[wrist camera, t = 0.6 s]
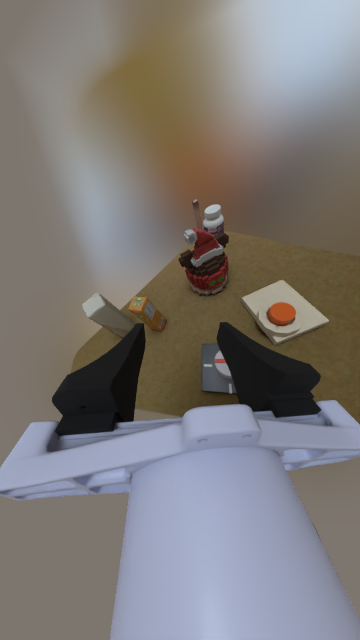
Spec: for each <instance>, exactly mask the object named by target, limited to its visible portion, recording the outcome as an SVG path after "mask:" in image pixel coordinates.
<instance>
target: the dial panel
mask: <svg viewBox="0 0 360 640" xmlns="http://www.w3.org/2000/svg"><path fill="white" fill-rule="evenodd" d="M219 351H220V349H219V346H218V344H202V391H204V392H216V393H228V394H237V392H236V389H235V385H234V382H233V379H227V378H224V377H223V376H221V375H220V374H219V372H218V371H217V368H216V365H215V356H216V354H217V353H218V352H219Z"/></svg>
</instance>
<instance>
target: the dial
mask: <svg viewBox="0 0 360 640" xmlns="http://www.w3.org/2000/svg"><path fill="white" fill-rule="evenodd" d="M215 365H216V368H217V371H218V372H219V374H220V375H221V376H223V377H224V378H227V379H232V376H231V373H230V371H229V368H228V366H227V364H226V362H225V360H224V357H223V355H222V353H221V351H219V352H218V353H217V354H216V356H215Z"/></svg>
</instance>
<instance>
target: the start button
mask: <svg viewBox="0 0 360 640" xmlns="http://www.w3.org/2000/svg"><path fill="white" fill-rule="evenodd" d="M295 316H296V310H295V308H294V307H293V306H292V305H290V304H288V303H284V302H279V303H275V304H273V305H272V306H271V308H270V310H269V312H268V319H269V320H270V322H272V323H273V324H275V325H280V326H283V325H287V324H289V323H290V322H291V321H292V320H293V318H294V317H295Z"/></svg>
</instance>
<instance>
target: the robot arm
mask: <svg viewBox="0 0 360 640" xmlns="http://www.w3.org/2000/svg"><path fill="white" fill-rule="evenodd" d="M145 342H146V340H145V331H144V323H137V324H136V325H135V326H134V327H133V328H132V329H131V331H130V332H129V333H128V334H127V335H126V336H125V337H124V338H123V339H122V340H121V341H120V342H119V343H118V344H117V345H116V346H115V347H114V348H112V349H111V350H110V351H108V352H107V353H106V354H104V355H103V356H101V357H100V358H98V359H97V360H95V361H94V362H92V363H90V364H88V365H87V366H85V367H83V368H81V369H79V370H77V371H75V372H73V373H71V374H69V375H67V377H66V378H65V379H64V380H63V382H62V383H61V385H60V386H59V388H58V390H57V391H56V392H55V394H54V396H53V397H52V402H53V404H54V406H55V407H56V408H57V409H58V410H59V411H60V413H61V414H62V415H63V417H62V419H61V421H60V422H58V421H42V422H33V423H31V424H30V425H29V427H28V429H27V430H26V431H25V433H24V434H23V436H22V437H21V439H20V440H19V441H18V443H17V444H16V446H15V447H14V448H13V450H12V451H11V453H10V454H9V456H8V457H7V459H6V460H5V462H4V463H3V465H2V466H1V467H0V496H3V497H7V498H11V499H15V500H20V501H21V500H30V499H39V498H50V497H62V496H76V495H93V494H110V493H126V492H130V495H129V502H128V509H127V517H126V524H125V531H124V539H123V546H122V554H121V562H120V569H119V576H118V583H117V591H116V599H115V605H114V613H113V620H112V627H111V635H110V640H360V618H359V616H358V614H357V612H356V610H355V609H354V606H353V604H352V602H351V600H350V598H349V596H348V594H347V592H346V590H345V588H344V586H343V584H342V582H341V580H340V578H339V576H338V574H337V572H336V570H335V568H334V566H333V564H332V562H331V560H330V558H329V556H328V554H327V552H326V550H325V548H324V546H323V544H322V542H321V540H320V538H319V536H318V534H317V532H316V530H315V528H314V526H313V524H312V522H311V520H310V518H309V516H308V514H307V512H306V510H305V508H304V506H303V504H302V502H301V500H300V498H299V496H298V494H297V492H296V490H295V488H294V486H293V484H292V482H291V480H290V478H289V476H288V474H287V472H286V471H290V470H296V469H301V468H307V467H312V466H318V465H323V464H330V463H336V462H344V461H349V460H352V459H354V458H357V457H359V456H360V424H359V423H358V422H357V421H356V420H355V419H354V418H353V417H352V416H351V415H350V414H349V413H348V412H347V411H346V410H345V409H344V408H343V407H342V406H341V405H340V404H339V403H338V402H337V401H336V400H326V401H319V402H316V403H315V402H314V400H313V399H312V398H313V397H314V396H313V394H312V393H311V392H310V391H311V390H312V389H313V388H314V387H315V386H316V385H317V384H318V382H319V381H320V378H321V376H320V374H319V373H318V372H317V371H316V370H315V369H314V368H313V367H312V366H311V365H310V364H307V363H304V362H301V361H298V360H295V359H292V358H289V357H287V356H284V355H282V354H279V353H277V352H275V351H272V350H270V349H268V348H266V347H264V346H262V345H260V344H259V343H257V342H255V341H253V340H252V339H250V338H249V337H247V336H246V335H244V334H243V333H241V332H240V331H239V330H237V329H236V328H234V327H233V326H232V325H230V324H229V323H227V322H220V327H219V331H218V335H217V342H218V346H219V349H220V351H221V353H222V355H223V357H224V360H225V362H226V364H227V366H228V368H229V371H230V373H231V376H232V379H233V382H234V385H235V389H236V392H237V396H238V399H239V403H240V404H231V405H217V406H203V407H197V408H192V409H191V410H189V411H187V412H186V413H185V415H184V416H183V418H172V419H159V420H148V421H147V420H146V421H134V410H135V401H136V392H137V384H138V377H139V372H140V367H141V363H142V359H143V355H144V351H145Z"/></svg>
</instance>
